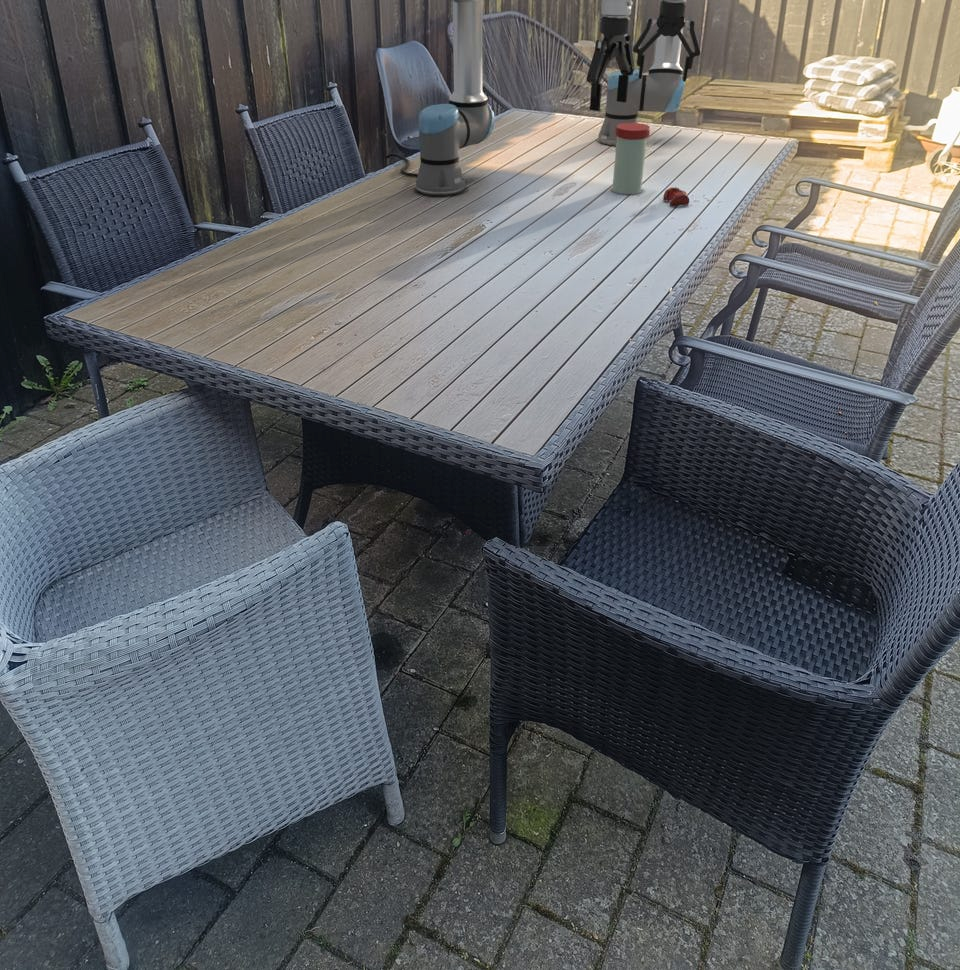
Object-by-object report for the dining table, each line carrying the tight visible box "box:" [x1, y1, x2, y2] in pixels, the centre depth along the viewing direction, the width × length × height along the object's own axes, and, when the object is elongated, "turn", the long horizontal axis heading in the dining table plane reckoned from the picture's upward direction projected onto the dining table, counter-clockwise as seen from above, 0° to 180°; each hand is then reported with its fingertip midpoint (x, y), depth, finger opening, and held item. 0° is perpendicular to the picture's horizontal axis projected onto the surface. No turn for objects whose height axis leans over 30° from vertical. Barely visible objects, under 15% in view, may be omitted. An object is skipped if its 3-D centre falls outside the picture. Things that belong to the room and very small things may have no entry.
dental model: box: [662, 187, 690, 207], centre depth 246 cm, size 6×4×8 cm
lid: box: [615, 122, 651, 139], centre depth 248 cm, size 10×10×2 cm
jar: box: [611, 137, 648, 195], centre depth 253 cm, size 9×9×18 cm
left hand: (608, 106), depth 226 cm, fingers open, 13 cm apart
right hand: (661, 79), depth 260 cm, fingers open, 13 cm apart
